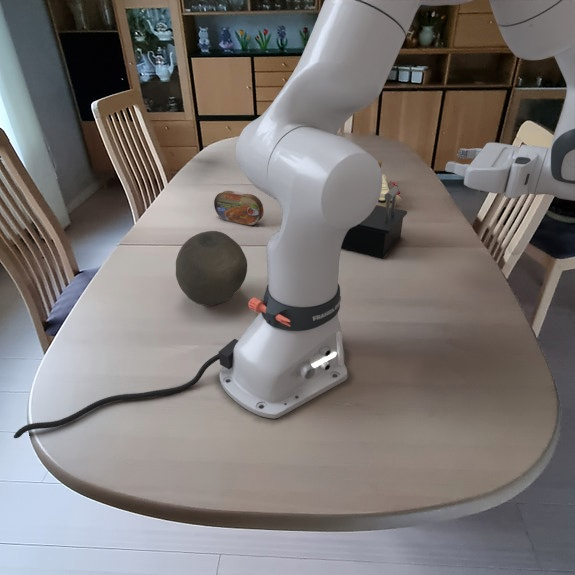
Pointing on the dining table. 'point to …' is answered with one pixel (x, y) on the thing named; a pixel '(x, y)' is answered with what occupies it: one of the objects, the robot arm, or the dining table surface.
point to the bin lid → (384, 215)
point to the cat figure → (385, 189)
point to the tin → (238, 207)
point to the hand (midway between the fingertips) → (452, 159)
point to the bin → (371, 241)
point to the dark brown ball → (210, 268)
